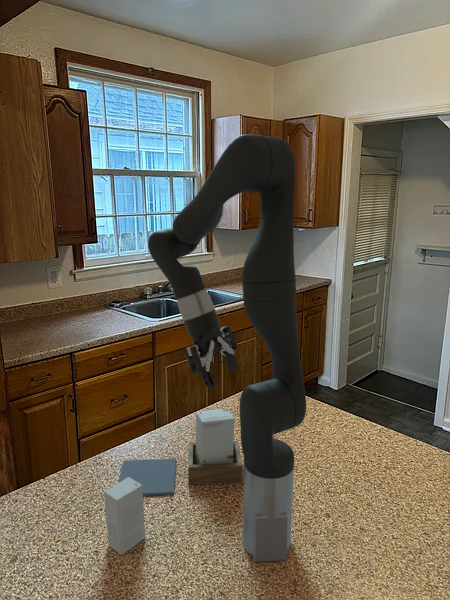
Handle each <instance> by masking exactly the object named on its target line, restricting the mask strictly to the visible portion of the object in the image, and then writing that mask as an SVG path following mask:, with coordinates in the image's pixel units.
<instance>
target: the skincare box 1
mask: <svg viewBox="0 0 450 600" xmlns="http://www.w3.org/2000/svg"><path fill="white" fill-rule="evenodd" d="M103 497H104V498H103V499H104V508H105V522H106V532H107V543H108V546H109V547H110V548H111V549H112V550H113V551H114V552H116V553H118V554H119V555H120V556H124V554H125V553H127V552H128V551H130V550H131V549H132V548H133V547H135V546H136V545H137V544H139V543H140V542H141V541H143V540H144V539H146V524H145V511H144V510H145V509H144V508H145V506H144V496H143V489H142V485H141V484H140V483H138V482H136V481H135V480H133V479H131V478H129V477H127V478H126V479H124V480H123V481H121V482H119V483H118V482H117V483H116V484H114V485H113V486H111V487H110V488H108V489H107V490H104V491H103Z"/></svg>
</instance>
